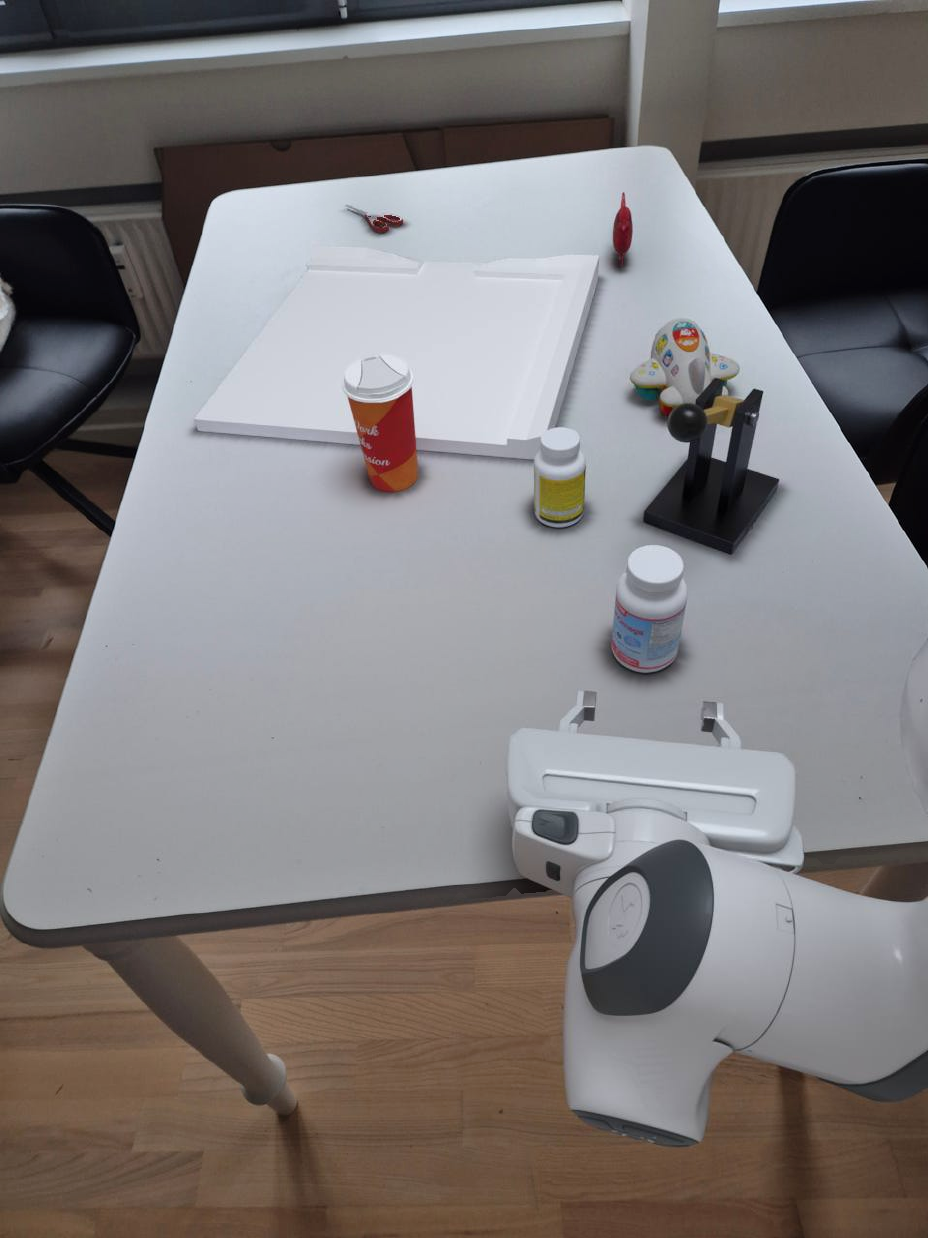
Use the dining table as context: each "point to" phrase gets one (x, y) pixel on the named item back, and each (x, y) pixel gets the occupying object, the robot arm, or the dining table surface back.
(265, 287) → the dining table surface
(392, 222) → the scissors
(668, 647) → the pill bottle
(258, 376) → the tray
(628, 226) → the decorative bird figurine
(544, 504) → the supplement bottle
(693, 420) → the lever with black knob
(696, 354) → the toy airplane
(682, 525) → the black lever stand
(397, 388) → the paper cup
